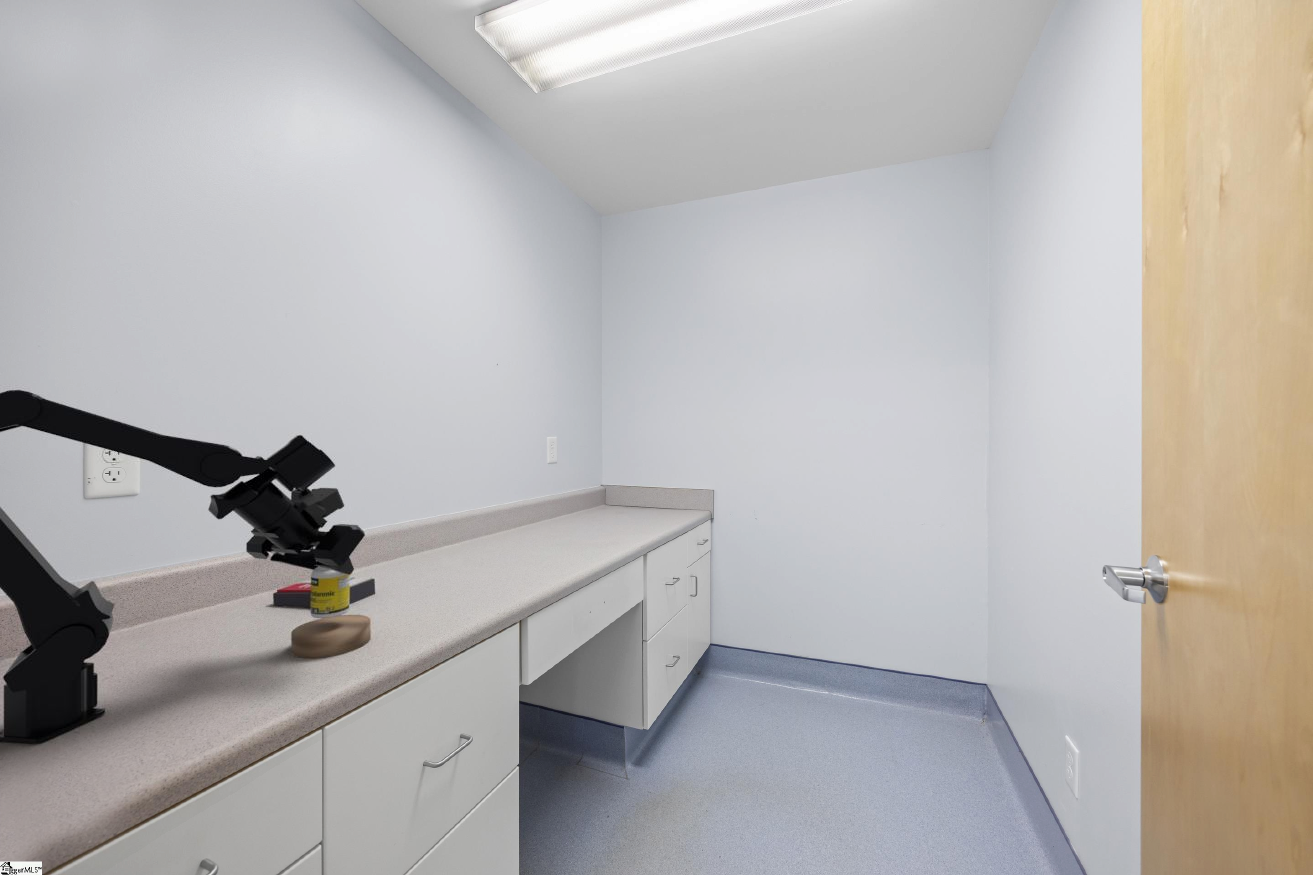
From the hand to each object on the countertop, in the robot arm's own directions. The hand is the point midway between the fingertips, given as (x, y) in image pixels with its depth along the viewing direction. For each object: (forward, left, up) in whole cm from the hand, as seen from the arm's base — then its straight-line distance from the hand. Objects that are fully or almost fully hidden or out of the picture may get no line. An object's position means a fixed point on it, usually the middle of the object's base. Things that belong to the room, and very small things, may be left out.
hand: (338, 570), depth 86 cm
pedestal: (-1, 0, -12) cm, 12 cm away
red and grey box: (+21, +19, -12) cm, 31 cm away
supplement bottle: (-1, 0, -7) cm, 7 cm away
